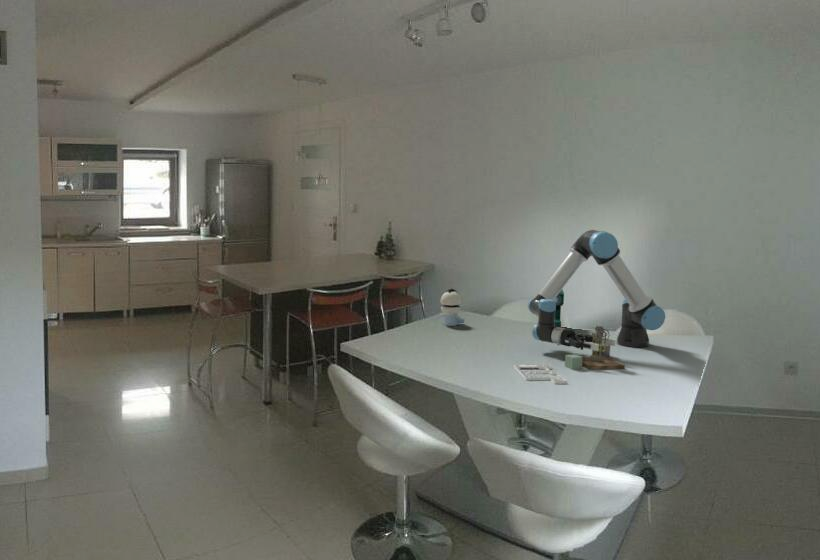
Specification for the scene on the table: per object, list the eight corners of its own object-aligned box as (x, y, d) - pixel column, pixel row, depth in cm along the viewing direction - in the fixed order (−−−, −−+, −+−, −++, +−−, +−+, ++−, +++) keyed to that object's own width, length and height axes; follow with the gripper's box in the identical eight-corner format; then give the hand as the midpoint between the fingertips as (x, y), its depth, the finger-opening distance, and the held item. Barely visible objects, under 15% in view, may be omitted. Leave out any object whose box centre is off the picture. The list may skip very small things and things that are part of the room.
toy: (469, 325, 375) (470, 289, 373) (454, 328, 366) (455, 291, 364) (447, 320, 386) (448, 286, 384) (432, 323, 377) (433, 288, 374)
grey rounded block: (606, 354, 313) (606, 343, 312) (612, 357, 307) (612, 346, 306) (593, 354, 312) (594, 344, 311) (599, 357, 306) (599, 347, 305)
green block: (574, 365, 292) (575, 354, 291) (581, 368, 287) (582, 356, 287) (564, 366, 290) (565, 355, 289) (572, 369, 285) (572, 357, 285)
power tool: (562, 334, 354) (564, 296, 351) (548, 333, 355) (550, 296, 353) (561, 323, 385) (563, 288, 382) (549, 322, 386) (550, 287, 384)
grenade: (588, 358, 298) (590, 325, 296) (603, 358, 298) (605, 325, 296) (594, 363, 290) (595, 328, 288) (609, 362, 291) (611, 328, 289)
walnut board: (608, 359, 303) (608, 355, 303) (624, 368, 288) (624, 365, 287) (574, 360, 301) (574, 356, 301) (588, 369, 285) (588, 366, 285)
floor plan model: (549, 368, 289) (549, 363, 289) (567, 384, 264) (568, 380, 264) (513, 368, 288) (513, 364, 287) (529, 385, 263) (529, 380, 263)
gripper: (579, 341, 315) (620, 349, 300) (547, 349, 298) (590, 358, 283) (579, 325, 314) (621, 332, 299) (548, 332, 297) (591, 340, 282)
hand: (606, 345), depth 291 cm, fingers open, 13 cm apart
